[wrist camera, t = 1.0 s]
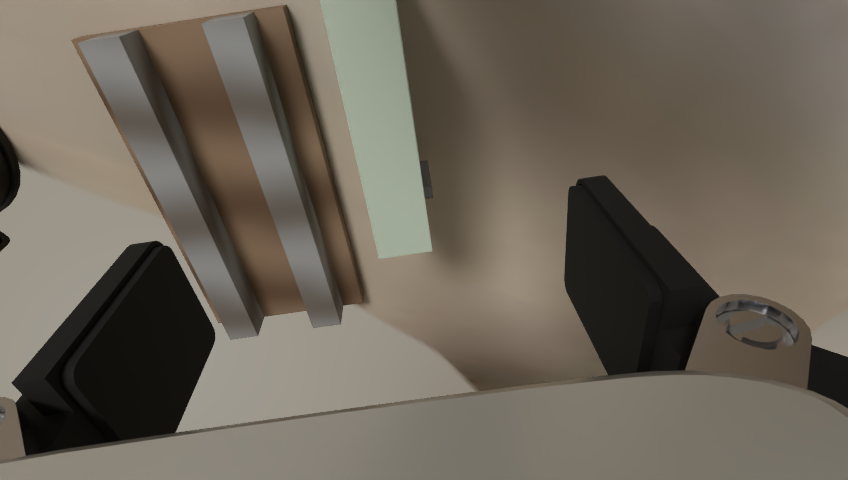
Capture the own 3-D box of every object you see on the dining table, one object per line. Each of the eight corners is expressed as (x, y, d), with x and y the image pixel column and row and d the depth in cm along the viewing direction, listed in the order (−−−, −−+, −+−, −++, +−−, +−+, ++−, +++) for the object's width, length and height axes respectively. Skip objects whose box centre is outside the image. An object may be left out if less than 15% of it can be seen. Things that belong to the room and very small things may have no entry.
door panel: (338, -50, 23) (309, -43, 15) (395, -59, 23) (399, -57, 15) (381, 168, 30) (378, 258, 21) (426, 161, 30) (440, 249, 21)
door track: (82, 36, 24) (46, 48, 22) (286, 4, 24) (274, 12, 22) (222, 313, 35) (209, 342, 33) (363, 293, 35) (361, 321, 33)
